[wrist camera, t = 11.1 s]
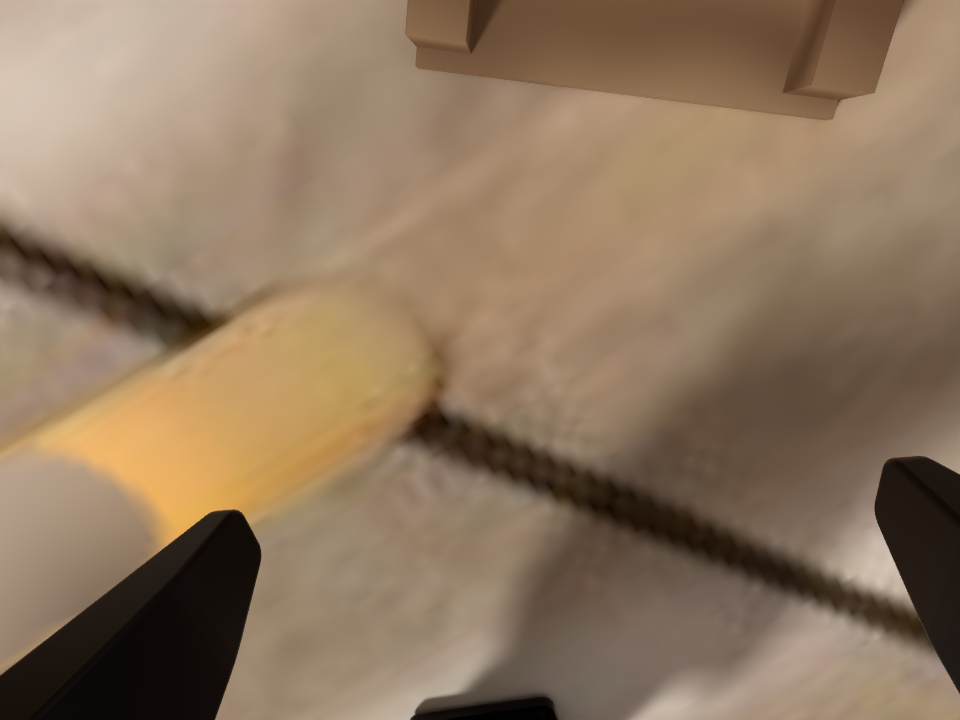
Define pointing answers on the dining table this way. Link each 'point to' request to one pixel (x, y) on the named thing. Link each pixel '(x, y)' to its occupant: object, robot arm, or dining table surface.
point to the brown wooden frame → (668, 47)
